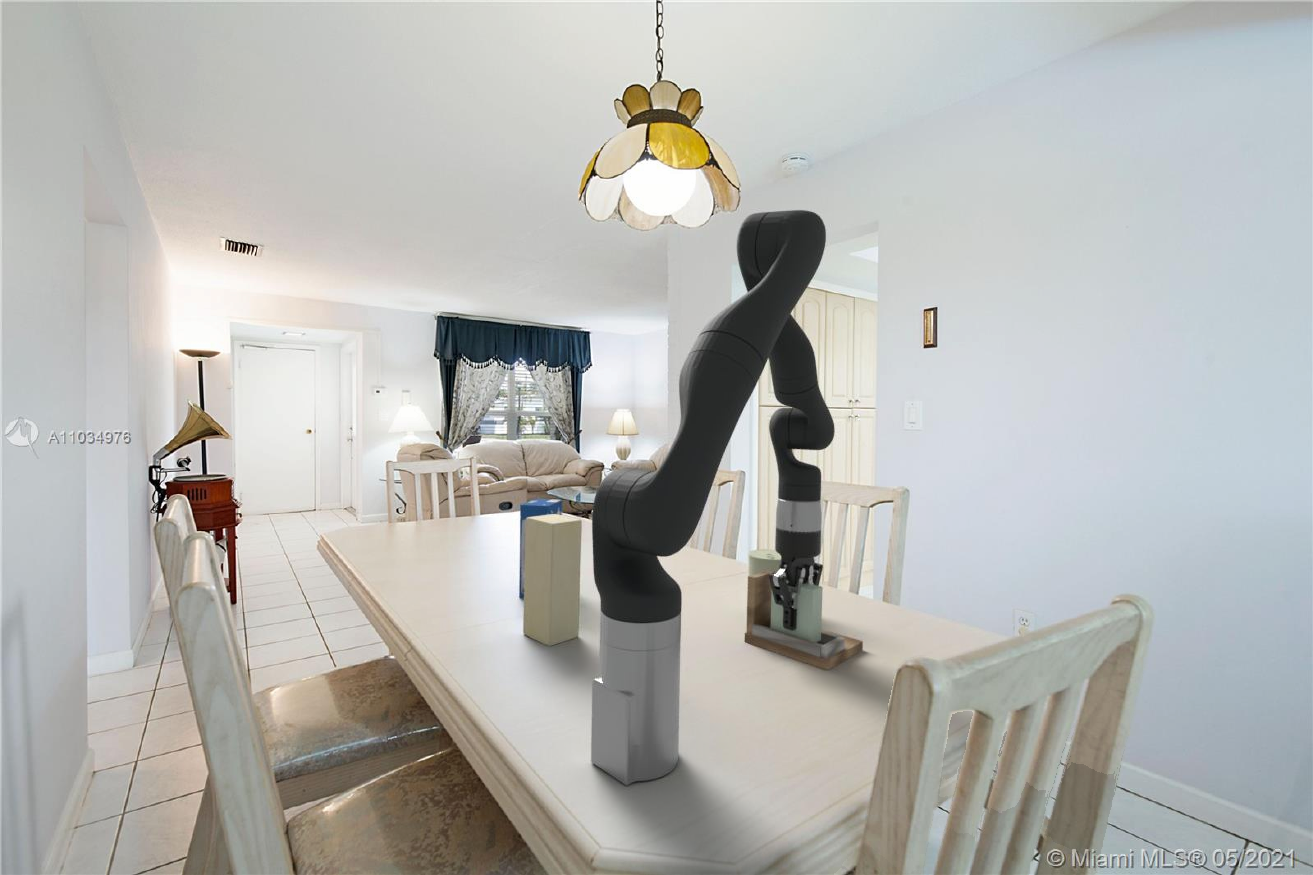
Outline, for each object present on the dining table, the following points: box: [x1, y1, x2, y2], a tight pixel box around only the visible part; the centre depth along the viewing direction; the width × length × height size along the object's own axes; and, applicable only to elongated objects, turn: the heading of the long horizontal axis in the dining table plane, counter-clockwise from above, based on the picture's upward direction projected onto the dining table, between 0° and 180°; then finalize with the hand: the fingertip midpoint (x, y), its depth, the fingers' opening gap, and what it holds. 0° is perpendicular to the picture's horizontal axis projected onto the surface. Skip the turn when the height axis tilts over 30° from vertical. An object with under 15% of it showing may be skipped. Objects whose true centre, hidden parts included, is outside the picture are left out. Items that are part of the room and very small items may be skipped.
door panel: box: [771, 583, 824, 642], centre depth 101 cm, size 3×8×9 cm, turn 45°
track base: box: [744, 571, 864, 671], centre depth 103 cm, size 12×16×12 cm
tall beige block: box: [522, 514, 583, 647], centre depth 105 cm, size 8×7×21 cm
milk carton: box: [518, 498, 563, 599], centre depth 131 cm, size 10×6×20 cm, turn 172°
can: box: [747, 548, 781, 577], centre depth 122 cm, size 9×9×12 cm
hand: (795, 626), depth 101 cm, fingers closed on door panel, 3 cm apart
